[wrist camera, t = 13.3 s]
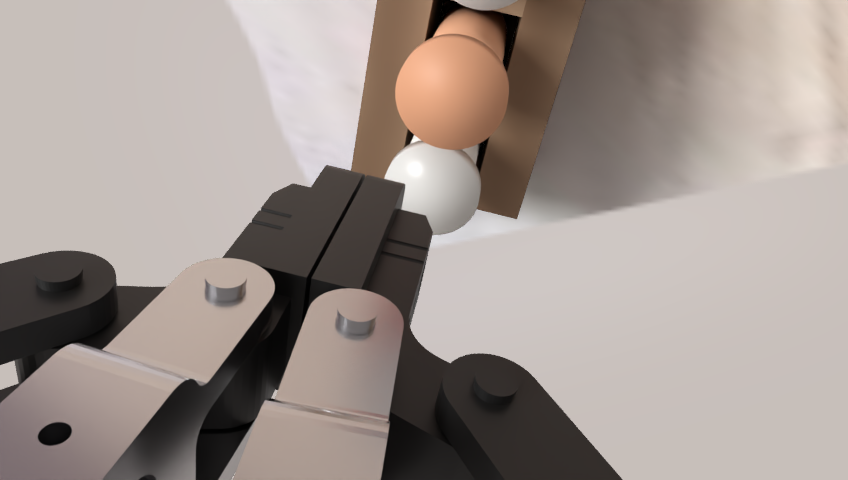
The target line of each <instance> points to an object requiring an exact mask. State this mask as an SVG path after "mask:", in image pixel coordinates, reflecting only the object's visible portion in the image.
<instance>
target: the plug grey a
mask: <svg viewBox="0 0 848 480" xmlns="http://www.w3.org/2000/svg"><path fill="white" fill-rule="evenodd" d="M479 146H480V143H479V144H477V145H475V146H472V147H469V148H465V149H459V150H447V149H441V148H437V147H434V146H431V145H429V144H427V143H425V142H423V141H422V140H420V139H419V138H417V137H416V136H415V135H414V136H413V139H412V141H411V143H410V144H409V145H407V146H406V147H404V148H403V149H402V150H400V151H399V152H398V153H397V155H396V156H395V157H394V158H393V160H392V162H391V164H390V166H389V168H388V170H387V172H386V175H385V178H384V179H387V180H392V181H396V182H400V183H404V184H405V193H404V198H403V203H402V209H401V210H405V211H409V212H414V213H418V214H422V215H426V217H427V219H428V222H429V224H430V226H431V229H432V231H433V234H432V235H441V234H446V233H450V232H453V231H455V230H457V229H459V228H461V227H462V226H464V225H465V224H466V223H467V222H468V221H469V220H470V219H471V218H472V216H473V215H474V213H475V211H476V209H477V206H478V203H479V197H480V192H481V178H480V174H479V171H478V169H477V166H476V161H477V156H478V151H479Z"/></svg>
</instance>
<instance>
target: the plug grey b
mask: <svg viewBox="0 0 848 480" xmlns="http://www.w3.org/2000/svg"><path fill="white" fill-rule="evenodd" d="M454 1H456V2H458V3H459V4H461V5H463V6H466V7H469V8H472V9H477V10H495V9H500V8H503V7H506V6H508V5H511V4H512V3H514V2H516V1H518V0H454Z"/></svg>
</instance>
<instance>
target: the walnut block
mask: <svg viewBox="0 0 848 480" xmlns="http://www.w3.org/2000/svg"><path fill="white" fill-rule="evenodd" d="M452 1H454V0H452ZM585 1H586V0H518V1H516V2H514V3H512V4H511V5H508V6H506V7H503V8H500V9H495V10H494V11H498V12H502V13H506V14H510V15H514V16H518V20H517V24H516V28H515V31H514V35H513V39H512V43H511V46H510V50H509V54H508V58H507V61H506V65H505V70H506V73H507V77H508V82H509V96H508V104H507V108H506V112H505V115H504V118H503V120H502V122H501V124H500V125H499V126H498V128H497V129H496V130H495V132H494V133H493V134H492V135H491V136H489V137H488V138H487V139H486V140H485V144H484V148H483V152H481V151H478V156H477V161H476V166H477V169H478V171H479V174H480V178H481V192H480V197H479V203H478V206H477V209H478V210H482V211H486V212H490V213H494V214H498V215H502V216H507V217H511V218H515V219H517V217H518V214H519V211H520V208H521V204H522V201H523V198H524V195H525V192H526V189H527V185H528V182H529V179H530V176H531V173H532V170H533V166H534V163H535V160H536V157H537V154H538V150H539V147H540V144H541V141H542V138H543V135H544V131H545V128H546V125H547V122H548V119H549V115H550V112H551V109H552V106H553V103H554V100H555V96H556V93H557V90H558V87H559V84H560V81H561V77H562V74H563V71H564V68H565V65H566V61H567V58H568V55H569V52H570V49H571V46H572V42H573V39H574V36H575V33H576V30H577V27H578V23H579V20H580V17H581V14H582V11H583V7H584V4H585ZM442 4H443V0H377V5H376V11H375V18H374V25H373V31H372V38H371V44H370V51H369V57H368V64H367V70H366V77H365V83H364V90H363V96H362V103H361V109H360V116H359V122H358V129H357V135H356V142H355V148H354V155H353V162H352V168H351V171H354V172H358V173H362V174H365V177H366V176H367V175H371V176H375V177H379V178H383V179H384V178H385V175H386V172H387V170H388V168H389V166H390V164H391V162H392V160H393V158H394V157H395V156H396V155H397V153H398V152H399V151H400V150H402V149H403V148H404V147H406V146H407V145H409V144H410V143H411V141H412V139H413V136H414V134H413V133H412V132H411V131H410V130H409V129H408V128H407V126H406V125H405V124H404V122H403V120H402V119H401V116H400V114H399V112H398V108H397V105H396V99H395V88H396V82H397V78H398V75H399V72H400V70H401V68H402V66H403V65H404V63H405V61H406V60H407V58H408V57H409V55H410V54H411V53H412V52H413V51H414V50H415V49H416V48H417V47H418V46H419V45H420V44H422V43H423V42H425V41H426V40H428V39H430V38H433V36H434V34H435V33H436V31H437V29H438V24H439V19H440V14H441V9H442Z"/></svg>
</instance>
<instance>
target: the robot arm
mask: <svg viewBox="0 0 848 480" xmlns="http://www.w3.org/2000/svg"><path fill="white" fill-rule="evenodd" d="M404 193H405V184H404V183H400V182H396V181H392V180H387V179H383V178H379V177H375V176H371V175H367V176H366V177H365V174H362V173H358V172H354V171H349V170H345V169H341V168H337V167H333V166H329V165H327V166H325V168H324V169H323V170H322V172H321V173H320V175H319V176H318V178H317V179H316V181H315V182H314V184H313V185H312V187H311V188H310V187H306V186H301V185H297V184H291V185H289V186H287V187H285V188H283V189H281V190H279V191H277V192H274V193H273V194H272V195H271V196H270V197H269V199H268V200H267V201H266V202H265V204H264V205H263V206H262V208H261V211H259V212H258V213H257V214H256V215H255V217H254V218H253V219H252V223H249V224H248V226H247V227H246V228H245V229H244V231H243V232H242V234H241V235H240V236H239V237H238V238H237V240H236V241H235V242H234V244H233V245H232V246H231V248H230V249H229V250H228V251H227V253H226V254H225V255H224V256H223V258H216V259H209V260H205V261H201V262H198V263H196V264H193V265H191V266H190V267H188V268H186V269H185V270H184V271H183V272H181V273H180V274H179V275H178V276H177V277H176V278H175V279H174V280H173V281H172V282H171V283H170V284H169V285H168V286H167V287H136V286H117V284H116V274H115V270H114V268H113V266H112V265H111V264H110V263H109V262H108V261H106V260H105V259H103V258H101V257H99V256H97V255H94V254H90V253H86V252H80V251H56V252H48V253H44V254H39V255H35V256H30V257H26V258H22V259H18V260H14V261H10V262H6V263H2V264H0V365H2V364H5V363H8V362H11V361H14V360H15V366H16V371H17V376H18V382H19V384H16V385H14V386H10V387H8V388H5V389H2V390H0V480H231V479H232V477H233V476H234V478H233V480H622V479H621V477H620V476H619V475H618V474H617V473H616V472H615V470H614V469H613V468H612V467H611V466H610V465H609V464H608V462H607V461H606V460H605V459H604V458H603V457H602V455H601V454H600V453H599V452H598V451H597V450H596V449H595V447H594V446H593V445H592V444H591V443H590V442H589V440H587V438H586V437H585V436H584V435H583V434H582V432H581V431H580V430H579V429H578V428H577V427H576V425H575V424H574V423H573V422H572V421H571V420H570V419H569V418H568V416H567V415H566V414H565V413H564V412H563V410H562V409H561V408H560V407H559V406H558V405H557V404H556V402H555V401H554V400H553V399H552V398H551V397H550V396H549V394H548V393H547V392H546V391H545V390H544V389H543V387H542V386H541V385H540V384H539V383H538V382H537V380H536V379H535V378H534V377H533V376H532V375H531V374H530V373H529V372H528V371H526V370H525V369H524V368H522V367H521V366H520V365H518V364H516V363H514V362H512V361H510V360H508V359H505V358H503V357H500V356H496V355H491V354H470V355H465V356H463V357H459V358H458V359H456V360H454V361H453V362H452V363H448V362H446V361H444V360H442V359H440V358H439V357H437V356H435V355H433V354H432V353H430V352H429V351H428V350H426V349H425V348H424V347H423V346H422V345H421V344H420V343H419V342H418V341H417V339H416V338H415V337H414V335H413V334H412V331H411V329H410V325H411V321H412V317H413V314H414V310H415V306H416V303H417V299H418V295H419V291H420V287H421V282H422V277H423V273H424V269H425V265H426V260H427V256H428V251H429V247H430V243H431V238H432V234H433V231H432V229H431V226H430V224H429V222H428V219H427V217H426V215H422V214H418V213H414V212H409V211H405V210H401V209H402V203H403V198H404ZM275 389H276V390H278V392H277V395H276V397H275V399H271V397H272V395H273V393H274V391H275ZM235 472H236V473H235ZM234 474H235V475H234Z"/></svg>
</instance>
